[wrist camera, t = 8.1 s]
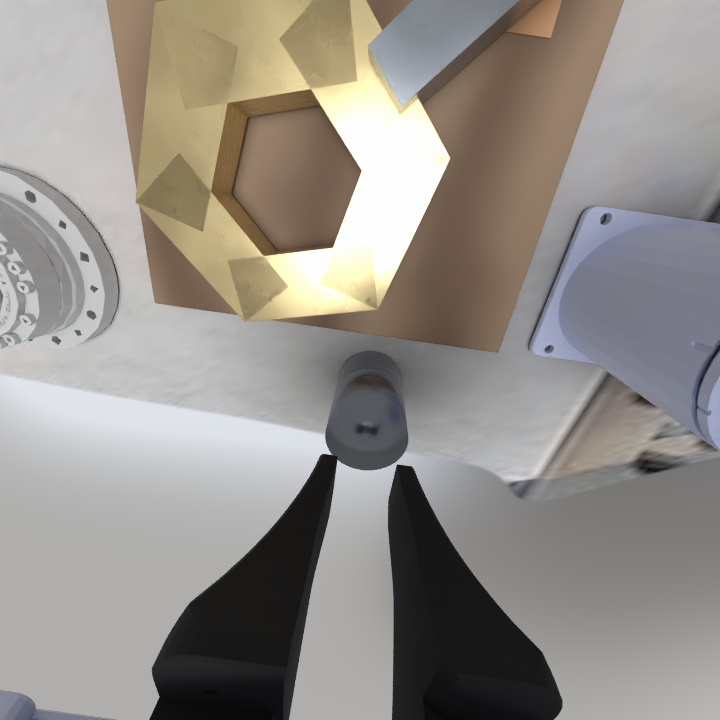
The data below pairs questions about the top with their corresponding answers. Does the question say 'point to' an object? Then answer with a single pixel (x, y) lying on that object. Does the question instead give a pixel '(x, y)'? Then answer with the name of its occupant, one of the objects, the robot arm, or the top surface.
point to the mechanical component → (50, 268)
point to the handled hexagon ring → (295, 91)
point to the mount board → (452, 195)
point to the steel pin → (368, 413)
